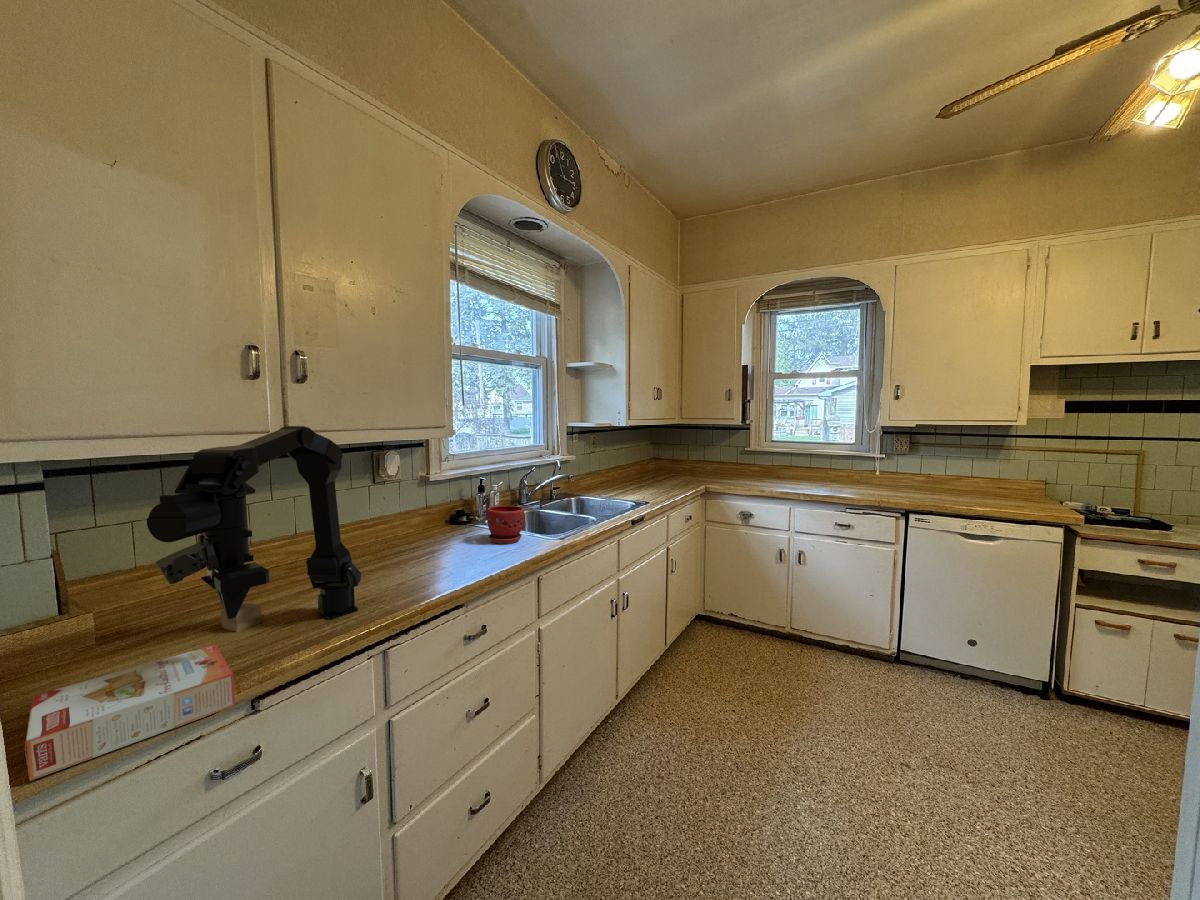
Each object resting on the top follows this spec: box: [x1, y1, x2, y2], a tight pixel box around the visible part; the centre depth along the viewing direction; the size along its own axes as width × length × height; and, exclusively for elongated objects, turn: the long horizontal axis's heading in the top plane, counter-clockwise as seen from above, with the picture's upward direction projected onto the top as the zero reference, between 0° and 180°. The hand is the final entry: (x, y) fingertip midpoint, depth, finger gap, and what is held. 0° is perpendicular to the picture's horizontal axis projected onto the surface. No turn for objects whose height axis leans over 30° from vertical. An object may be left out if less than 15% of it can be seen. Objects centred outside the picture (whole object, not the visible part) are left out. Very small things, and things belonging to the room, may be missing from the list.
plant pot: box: [486, 505, 525, 544], centre depth 169 cm, size 13×13×12 cm
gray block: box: [220, 601, 262, 633], centre depth 102 cm, size 5×5×4 cm
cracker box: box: [24, 644, 236, 781], centre depth 70 cm, size 14×6×21 cm
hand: (231, 617), depth 78 cm, fingers closed
